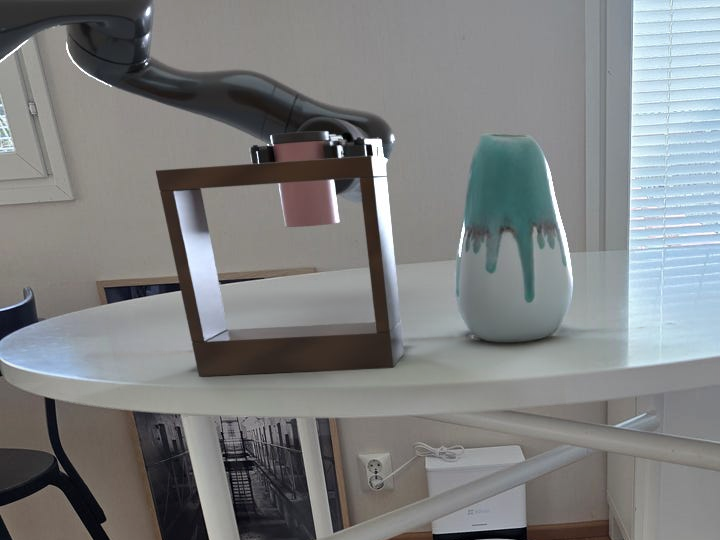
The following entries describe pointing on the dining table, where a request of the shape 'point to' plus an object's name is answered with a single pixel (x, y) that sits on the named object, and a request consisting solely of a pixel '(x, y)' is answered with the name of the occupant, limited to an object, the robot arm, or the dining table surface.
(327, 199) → the liner canister
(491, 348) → the dining table surface
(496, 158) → the vase
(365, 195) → the shelf
